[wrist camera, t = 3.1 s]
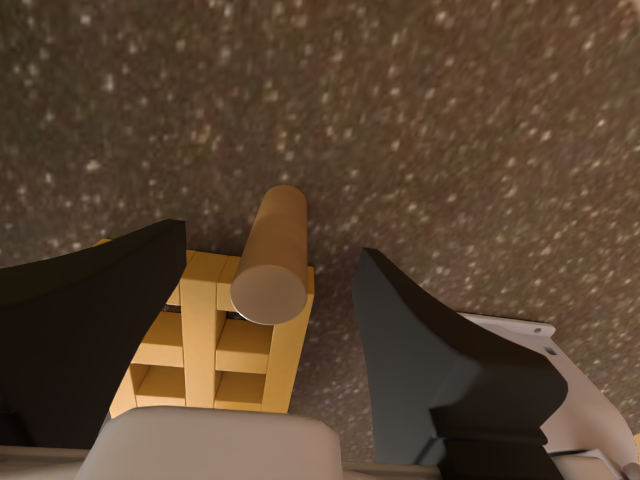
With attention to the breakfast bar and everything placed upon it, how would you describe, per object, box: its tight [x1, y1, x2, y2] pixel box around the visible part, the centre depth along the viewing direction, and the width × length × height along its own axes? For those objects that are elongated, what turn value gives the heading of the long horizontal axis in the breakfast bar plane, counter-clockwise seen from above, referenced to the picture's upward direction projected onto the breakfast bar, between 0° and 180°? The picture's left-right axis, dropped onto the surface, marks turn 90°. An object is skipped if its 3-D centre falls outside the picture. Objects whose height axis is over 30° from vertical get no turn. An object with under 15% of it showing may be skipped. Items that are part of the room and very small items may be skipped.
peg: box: [229, 185, 308, 325], centre depth 13 cm, size 3×3×8 cm
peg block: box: [92, 238, 315, 419], centre depth 21 cm, size 13×18×3 cm
